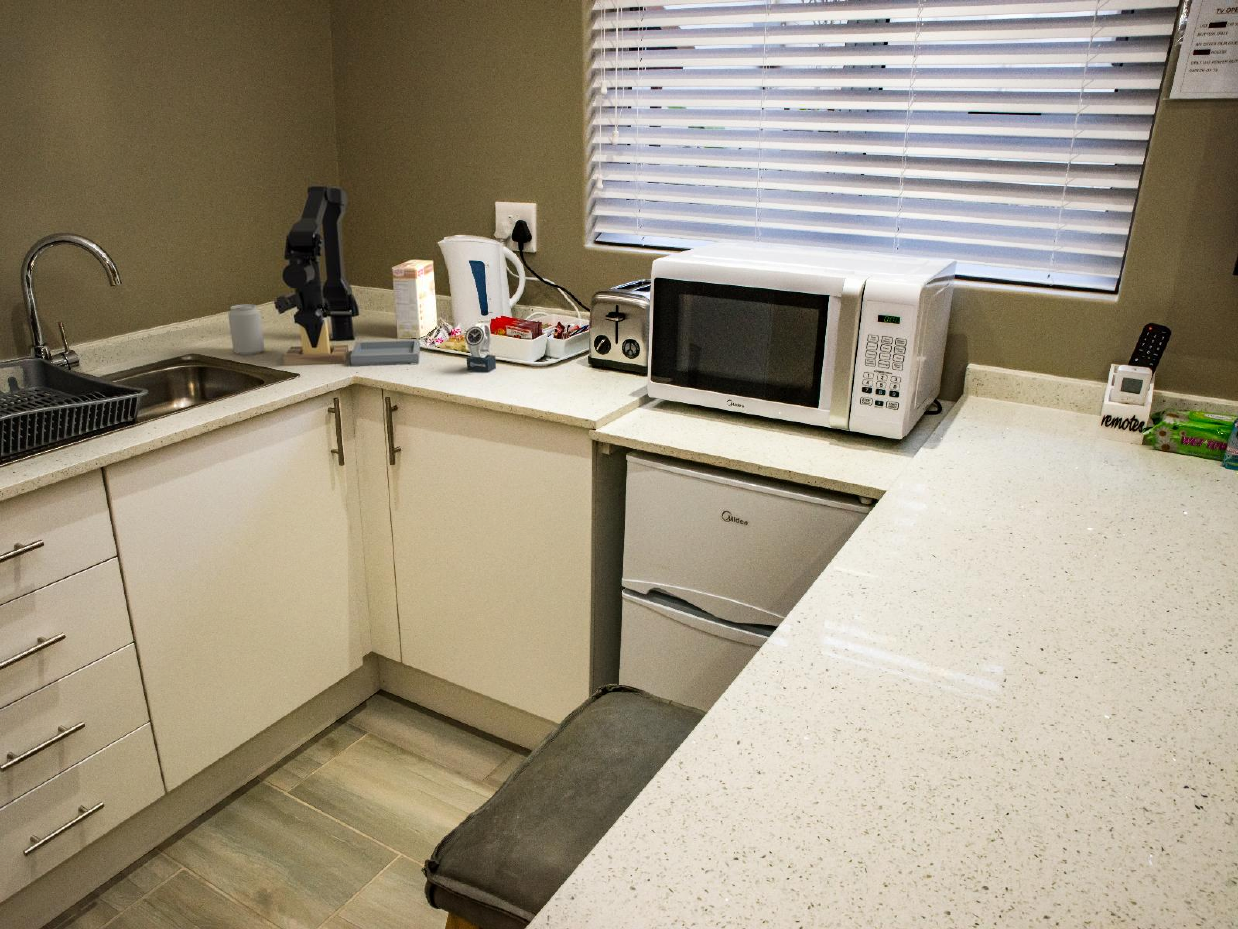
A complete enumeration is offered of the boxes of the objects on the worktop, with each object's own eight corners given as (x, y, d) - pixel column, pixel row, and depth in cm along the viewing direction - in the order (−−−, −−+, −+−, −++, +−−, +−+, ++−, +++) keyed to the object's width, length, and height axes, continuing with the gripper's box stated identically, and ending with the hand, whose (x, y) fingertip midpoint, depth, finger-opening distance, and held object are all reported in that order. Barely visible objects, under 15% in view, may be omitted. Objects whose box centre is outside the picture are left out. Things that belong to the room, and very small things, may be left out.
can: (232, 350, 240) (226, 304, 236) (263, 348, 243) (257, 302, 239) (234, 356, 233) (228, 309, 229) (266, 354, 236) (260, 307, 232)
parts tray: (356, 351, 240) (356, 341, 239) (420, 349, 242) (419, 339, 242) (351, 366, 225) (350, 356, 224) (418, 363, 228) (417, 353, 227)
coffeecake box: (414, 327, 268) (410, 259, 262) (438, 328, 267) (434, 259, 261) (396, 338, 254) (390, 266, 248) (421, 339, 253) (416, 267, 247)
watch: (463, 372, 220) (461, 326, 216) (478, 364, 227) (476, 320, 223) (485, 374, 218) (483, 328, 215) (499, 366, 226) (497, 321, 222)
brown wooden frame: (291, 354, 236) (290, 346, 235) (348, 352, 238) (347, 344, 238) (284, 365, 225) (283, 357, 224) (344, 363, 227) (343, 355, 227)
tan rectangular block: (306, 357, 233) (301, 318, 230) (330, 356, 234) (326, 317, 231) (303, 361, 229) (299, 321, 226) (329, 360, 230) (324, 320, 227)
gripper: (280, 276, 232) (287, 338, 238) (267, 288, 215) (275, 354, 221) (326, 275, 234) (332, 336, 240) (317, 287, 217) (324, 353, 222)
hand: (316, 345), depth 231 cm, fingers open, 6 cm apart
